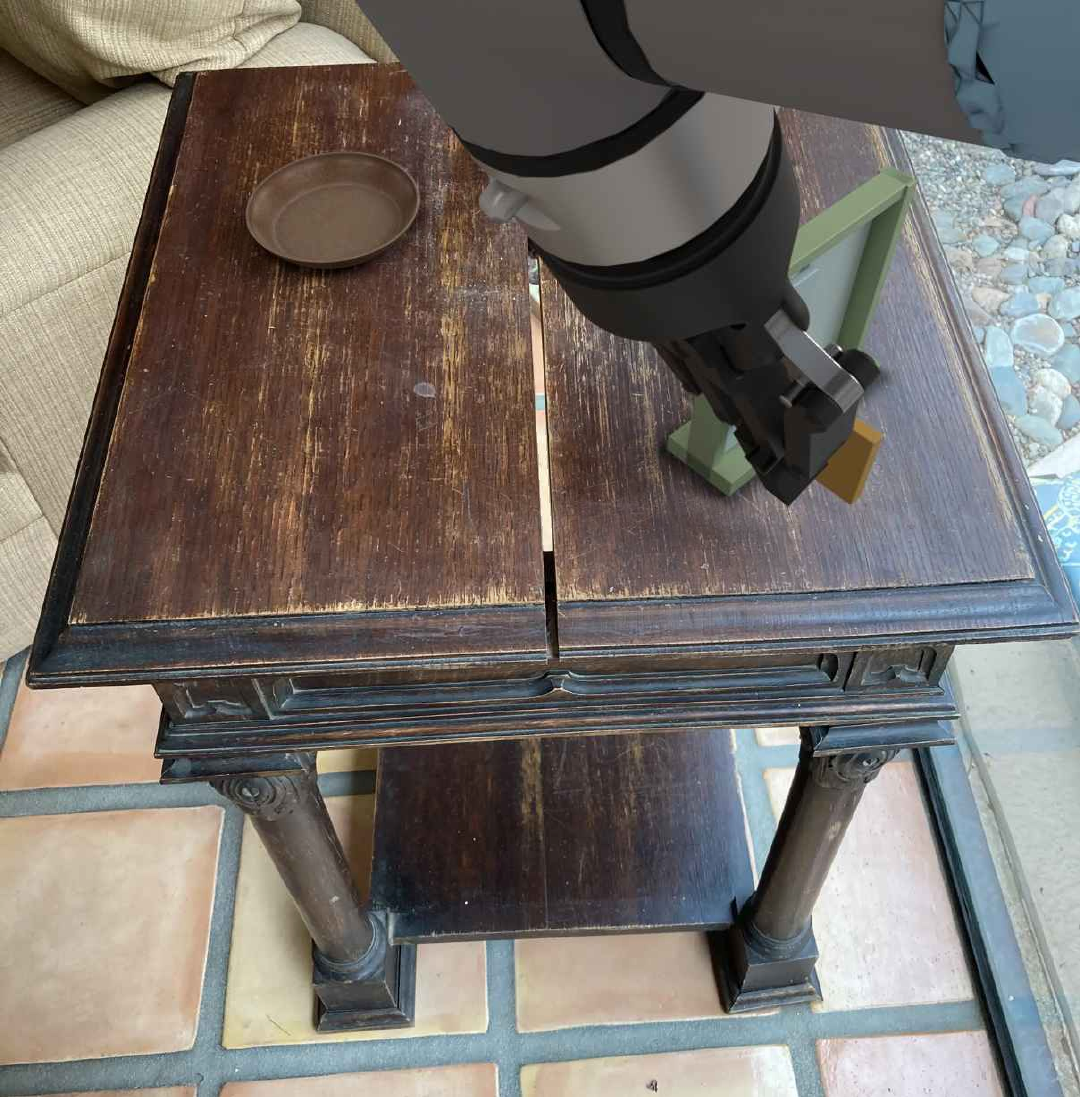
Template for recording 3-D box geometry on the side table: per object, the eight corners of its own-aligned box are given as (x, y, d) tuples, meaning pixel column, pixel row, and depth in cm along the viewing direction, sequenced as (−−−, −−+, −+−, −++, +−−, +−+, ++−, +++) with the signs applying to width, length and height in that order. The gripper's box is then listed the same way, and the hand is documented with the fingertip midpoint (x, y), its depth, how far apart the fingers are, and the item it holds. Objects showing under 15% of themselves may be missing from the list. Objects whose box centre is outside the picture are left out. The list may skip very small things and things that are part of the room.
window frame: (877, 377, 80) (941, 192, 67) (728, 497, 74) (766, 319, 60) (815, 337, 83) (865, 151, 69) (666, 449, 76) (689, 269, 63)
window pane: (897, 485, 72) (953, 350, 61) (836, 538, 69) (884, 407, 59) (778, 402, 76) (811, 264, 66) (716, 449, 74) (742, 313, 63)
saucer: (295, 309, 85) (287, 283, 83) (226, 213, 93) (218, 187, 91) (453, 245, 90) (450, 218, 88) (376, 158, 97) (371, 132, 95)
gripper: (415, 160, 32) (648, 456, 53) (711, 386, 26) (846, 624, 46) (582, -25, 32) (752, 346, 52) (925, 157, 25) (966, 499, 46)
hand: (796, 476), depth 49 cm, fingers closed
